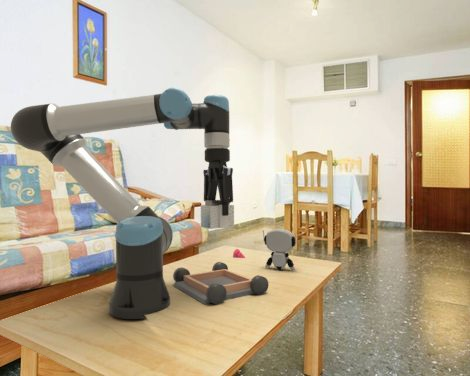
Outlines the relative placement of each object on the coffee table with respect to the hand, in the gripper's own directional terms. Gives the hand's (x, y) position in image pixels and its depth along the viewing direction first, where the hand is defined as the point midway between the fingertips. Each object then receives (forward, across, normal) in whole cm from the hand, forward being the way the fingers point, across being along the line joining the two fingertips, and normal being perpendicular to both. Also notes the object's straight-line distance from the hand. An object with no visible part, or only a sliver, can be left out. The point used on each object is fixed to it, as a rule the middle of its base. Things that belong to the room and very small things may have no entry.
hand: (218, 225), depth 104 cm
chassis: (+19, 0, 0) cm, 19 cm away
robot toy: (+19, +7, -30) cm, 36 cm away
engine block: (0, 0, 0) cm, 0 cm away
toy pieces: (+19, +29, -30) cm, 46 cm away
